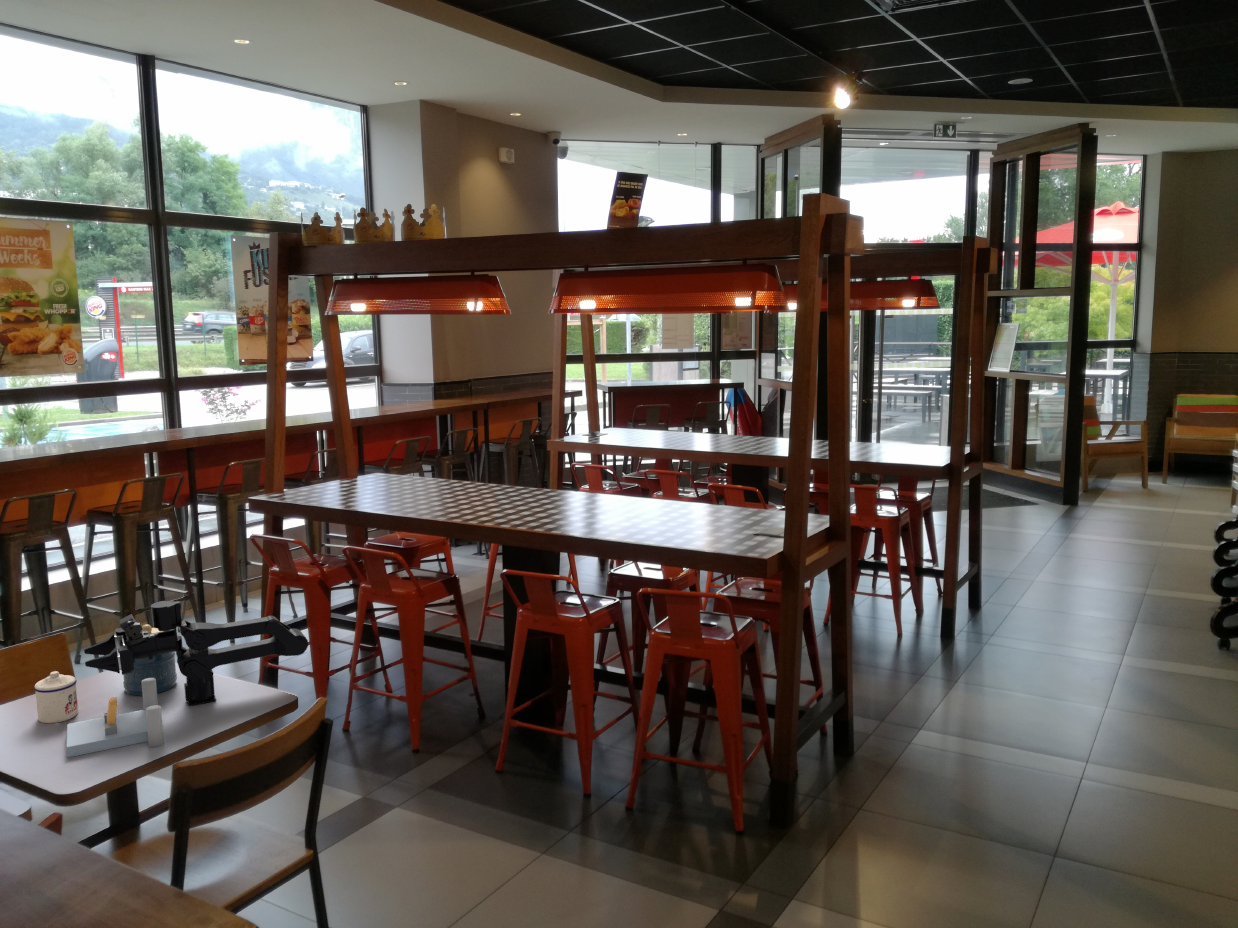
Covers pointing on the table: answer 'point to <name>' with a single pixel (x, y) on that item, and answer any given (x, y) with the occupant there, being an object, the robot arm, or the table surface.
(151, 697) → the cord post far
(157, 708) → the cord post near
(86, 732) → the panel
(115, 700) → the thick orange slab
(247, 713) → the table surface
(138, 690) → the canister
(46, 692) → the teacup with lid
